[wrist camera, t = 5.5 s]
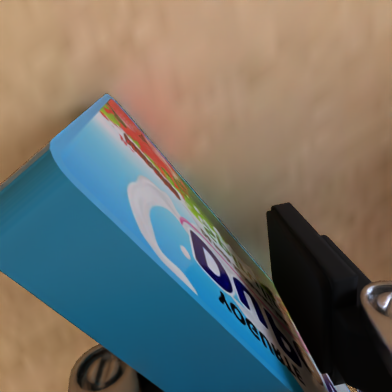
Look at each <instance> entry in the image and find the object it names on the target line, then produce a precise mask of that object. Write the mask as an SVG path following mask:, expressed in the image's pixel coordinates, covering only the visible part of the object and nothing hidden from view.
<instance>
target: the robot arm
mask: <svg viewBox="0 0 392 392" xmlns="http://www.w3.org/2000/svg"><path fill="white" fill-rule="evenodd" d="M266 217H267V228H268V239H269V249H270V260H271V271H272V279H273V283H274V286H275V289H276V290H277V292H278V294H279V296H280V298H281V300H282V302H283V304H284V306H285V308H286V309H287V311H288V313H289V315H290V317H291V319H292V321H293V323H294V325H295V326H296V328H297V330H298V332H299V334H300V336H301V338H302V340H303V342H304V344H305V345H306V347H307V349H308V351H309V353H310V355H311V357H312V359H313V361H314V362H315V364H316V366H317V368H318V370H319V372H320V373H321V374H326V373H327V374H328V376H329V378H330V380H331V381H332V383H333V385H334V386H336V385H340V384H345V383H346V384H347V385H349V386H351V387H353V388H356V389H357V392H392V281H376V282H371V281H370V280H369V279H368V278H367V277H366V276H365V275H364V274H363V273H362V272H361V270H360V269H359V268H358V267H357V266H356V265H355V264H354V263H353V262H352V261H351V260H350V259H349V258H348V257H347V256H346V255H345V254H344V253H343V252H342V251H341V250H340V249H339V248H338V247H337V246H336V245H335V244H334V243H333V241H332V240H331V239H330V238H329V237H327V236H326V235H321V236H320V235H319V234H318V233H317V231H316V230H315V229H314V228H313V227H312V226H311V225H310V224H309V223H308V222H307V221H306V220H305V219H304V218H303V216H302V215H301V214H300V213H299V212H298V211H297V210H296V209H295V208H294V207H293V206H292V205H291V204H290V203H284V204H279V205H274V206H272V207H271V211H267V213H266ZM68 392H164V391H163V390H162V389H160V388H159V387H157V386H156V385H155V384H153V383H152V382H151V381H149V380H148V379H147V378H145V377H144V376H143V375H141V374H140V373H138V372H137V371H136V370H134V369H133V368H132V367H130V366H129V365H128V364H126V363H125V362H124V361H122V360H121V359H120V358H118V357H117V356H115V355H114V354H113V353H111V352H110V351H109V350H107V349H106V348H105V347H103V346H102V345H101V344H98V345H96V346H94V347H92V348H91V349H89V350H88V351H86V352H85V353H84V354H83V355H82V356H81V357H80V358H79V359H78V360H77V361H76V363H75V365H74V367H73V368H72V370H71V374H70V378H69V387H68Z"/></svg>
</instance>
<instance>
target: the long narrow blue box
mask: <svg viewBox="0 0 392 392" xmlns="http://www.w3.org/2000/svg"><path fill="white" fill-rule="evenodd" d="M0 271H1V272H3V273H4V274H5V275H7V276H8V277H9V278H11V279H12V280H14V281H15V282H16V283H18V284H19V285H21V286H22V287H23V288H25V289H26V290H27V291H29V292H30V293H31V294H33V295H34V296H36V297H37V298H38V299H40V300H41V301H42V302H44V303H45V304H46V305H48V306H49V307H50V308H52V309H53V310H54V311H56V312H57V313H59V314H60V315H61V316H63V317H64V318H65V319H67V320H68V321H69V322H71V323H72V324H73V325H75V326H76V327H78V328H79V329H80V330H82V331H83V332H84V333H86V334H87V335H88V336H90V337H91V338H92V339H94V340H95V341H96V342H98V343H99V344H101V345H102V346H103V347H105V348H106V349H107V350H109V351H110V352H111V353H113V354H114V355H115V356H117V357H118V358H120V359H121V360H122V361H124V362H125V363H126V364H128V365H129V366H130V367H132V368H133V369H134V370H136V371H137V372H138V373H140V374H141V375H143V376H144V377H145V378H147V379H148V380H149V381H151V382H152V383H153V384H155V385H156V386H157V387H159V388H160V389H162V390H163V391H164V392H350V390H349V388H348V387H347V385H346V383H345V384H340V385H336V386H334V385H333V383H332V381H331V380H330V378H329V376H328V374H327V373H326V374H321V373H320V372H319V370H318V368H317V366H316V364H315V362H314V361H313V359H312V357H311V355H310V353H309V351H308V349H307V347H306V345H305V344H304V342H303V340H302V338H301V336H300V334H299V332H298V330H297V328H296V326H295V325H294V323H293V321H292V319H291V317H290V315H289V313H288V311H287V309H286V308H285V306H284V304H283V302H282V300H281V298H280V296H279V294H278V292H277V290H276V289H275V286H274V283H273V281H272V280H271V279H270V278H269V277H268V276H267V274H266V273H265V272H264V271H263V270H262V269H261V267H260V266H259V265H258V264H257V263H256V262H255V261H254V259H253V258H252V257H251V256H250V255H249V254H248V252H247V251H246V250H245V249H244V248H243V247H242V246H241V244H240V243H239V242H238V241H237V240H236V239H235V237H234V236H233V235H232V234H231V233H230V232H229V231H228V229H227V228H226V227H225V226H224V225H223V224H222V222H221V221H220V220H219V219H218V218H217V217H216V216H215V214H214V213H213V212H212V211H211V210H210V209H209V207H208V206H207V205H206V204H205V203H204V202H203V201H202V199H201V198H200V197H199V196H198V195H197V194H196V192H195V191H194V190H193V189H192V188H191V187H190V186H189V184H188V183H187V182H186V181H185V180H184V179H183V177H182V176H181V175H180V174H179V173H178V172H177V171H176V169H175V168H174V167H173V166H172V165H171V164H170V162H169V161H168V160H167V159H166V158H165V157H164V156H163V154H162V153H161V152H160V151H159V150H158V149H157V147H156V146H155V145H154V144H153V143H152V142H151V141H150V139H149V138H148V137H147V136H146V135H145V134H144V132H143V131H142V130H141V129H140V128H139V127H138V126H137V124H136V123H135V122H134V121H133V120H132V119H131V117H130V116H129V115H128V114H127V113H126V112H125V111H124V109H123V108H122V107H121V106H120V105H119V104H118V103H117V102H116V100H114V99H113V98H112V97H111V96H110V95H109V94H105V95H103V96H102V97H101V98H100V99H99V100H98V101H96V102H95V103H94V104H93V105H92V106H91V107H89V108H88V109H87V110H86V111H85V112H83V113H82V114H81V115H80V116H79V117H78V118H76V119H75V120H74V121H73V122H72V123H70V124H69V125H68V126H67V127H66V128H65V129H63V130H62V131H61V132H60V133H59V134H57V135H56V136H55V137H54V138H53V139H52V140H51V141H49V142H48V143H47V144H46V145H45V146H44V147H42V148H41V149H40V150H39V151H38V152H37V153H36V154H34V155H33V156H32V157H31V158H30V159H29V160H28V161H26V162H25V163H24V164H23V165H22V166H21V167H20V168H18V169H17V170H16V171H15V172H14V173H13V174H12V175H10V176H9V177H8V178H7V179H6V180H5V181H4V182H2V183H1V184H0Z"/></svg>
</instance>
